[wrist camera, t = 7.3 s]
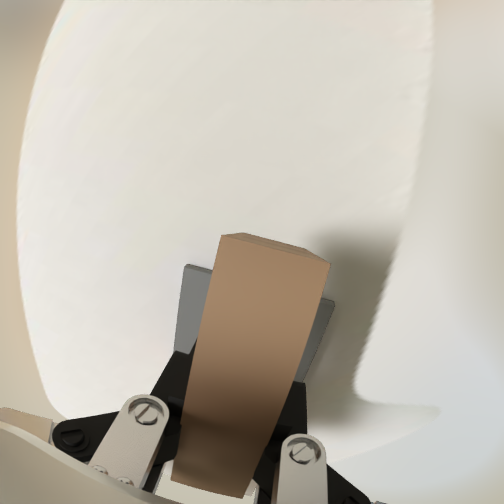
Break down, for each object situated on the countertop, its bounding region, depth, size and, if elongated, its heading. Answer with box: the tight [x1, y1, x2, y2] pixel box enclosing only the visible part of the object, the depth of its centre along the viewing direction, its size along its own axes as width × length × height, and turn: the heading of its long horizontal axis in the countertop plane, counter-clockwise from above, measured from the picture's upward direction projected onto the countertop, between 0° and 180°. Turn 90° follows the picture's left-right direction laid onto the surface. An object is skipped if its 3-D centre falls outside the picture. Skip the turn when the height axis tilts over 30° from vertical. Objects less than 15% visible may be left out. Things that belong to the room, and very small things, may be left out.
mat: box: [173, 264, 335, 382], centre depth 17 cm, size 16×8×1 cm, turn 167°
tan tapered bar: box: [163, 233, 331, 499], centre depth 9 cm, size 13×5×5 cm, turn 167°
